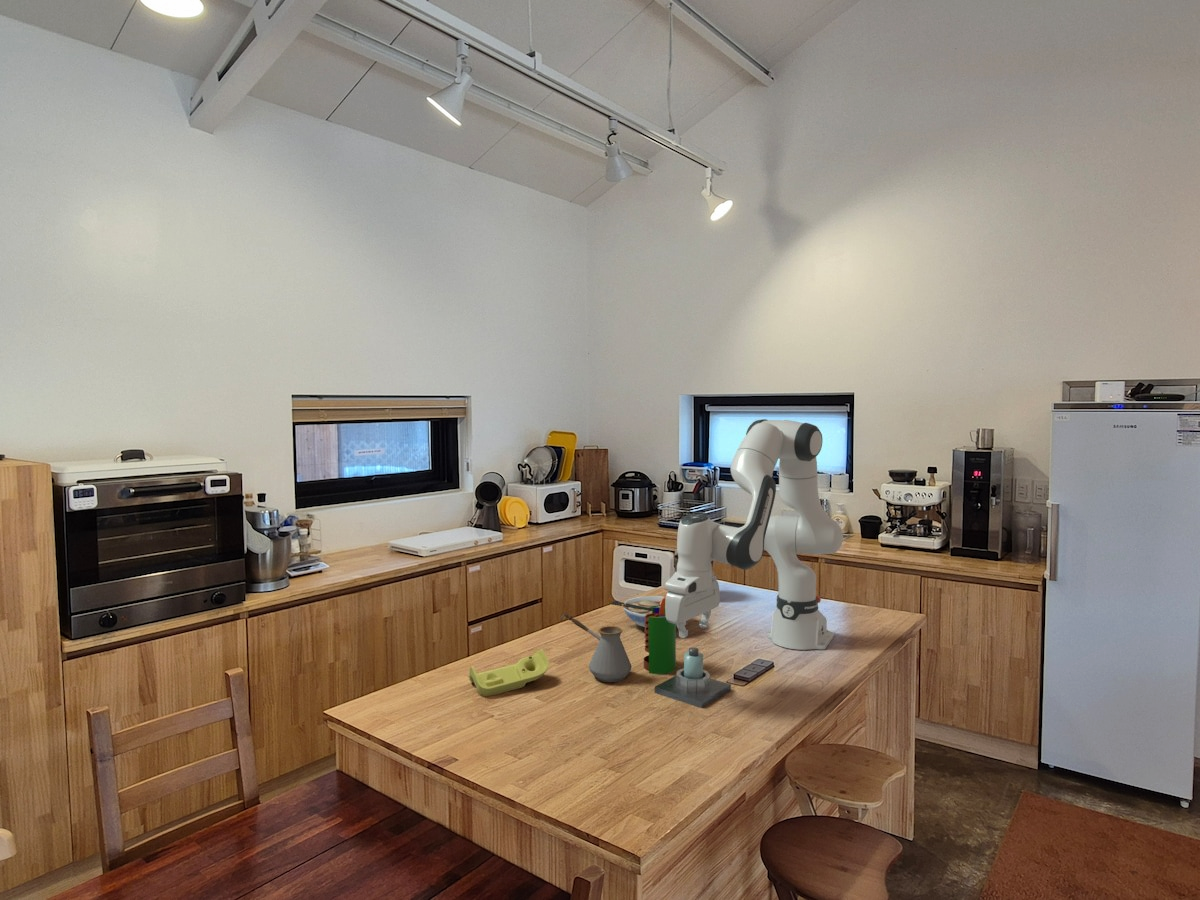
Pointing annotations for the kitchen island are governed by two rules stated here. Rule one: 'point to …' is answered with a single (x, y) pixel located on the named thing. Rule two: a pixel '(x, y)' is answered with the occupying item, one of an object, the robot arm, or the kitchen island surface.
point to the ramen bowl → (639, 607)
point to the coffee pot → (607, 654)
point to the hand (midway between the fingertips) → (693, 632)
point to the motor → (659, 642)
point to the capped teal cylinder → (693, 664)
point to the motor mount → (693, 689)
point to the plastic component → (510, 675)
